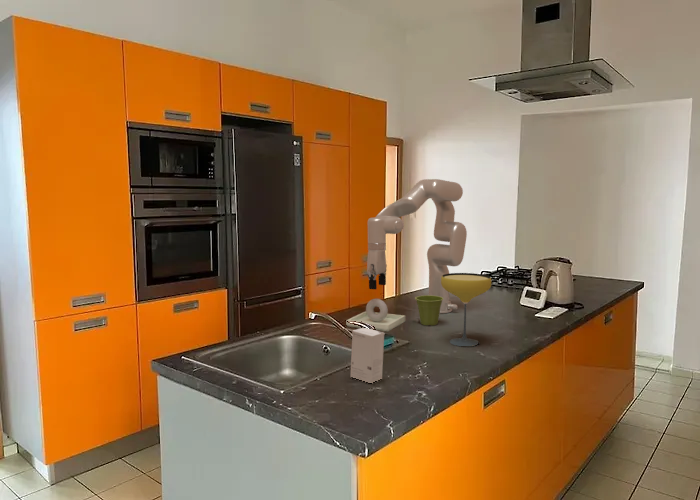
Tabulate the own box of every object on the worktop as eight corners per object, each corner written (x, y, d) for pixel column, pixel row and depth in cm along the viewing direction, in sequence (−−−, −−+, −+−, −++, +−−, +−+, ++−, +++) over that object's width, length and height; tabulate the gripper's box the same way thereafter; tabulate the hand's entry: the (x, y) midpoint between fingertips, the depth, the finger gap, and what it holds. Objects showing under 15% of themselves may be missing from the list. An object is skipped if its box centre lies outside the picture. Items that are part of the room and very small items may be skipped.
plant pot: (419, 319, 232) (420, 294, 231) (446, 322, 227) (446, 296, 225) (410, 325, 221) (411, 299, 220) (438, 328, 216) (438, 301, 215)
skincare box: (350, 378, 158) (350, 330, 157) (362, 373, 163) (362, 326, 161) (372, 385, 153) (372, 335, 151) (384, 379, 158) (384, 331, 156)
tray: (405, 321, 228) (405, 315, 228) (388, 331, 211) (388, 325, 211) (365, 316, 237) (365, 311, 237) (346, 326, 220) (346, 320, 220)
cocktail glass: (481, 352, 184) (483, 282, 181) (432, 345, 192) (434, 278, 190) (494, 340, 199) (496, 275, 196) (448, 333, 208) (450, 271, 205)
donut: (389, 322, 223) (389, 299, 222) (385, 323, 220) (385, 300, 219) (368, 319, 228) (368, 296, 227) (364, 321, 225) (364, 298, 224)
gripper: (377, 244, 230) (377, 282, 232) (359, 249, 215) (360, 290, 217) (393, 244, 226) (393, 283, 229) (376, 249, 211) (377, 291, 213)
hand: (377, 286), depth 223 cm, fingers open, 9 cm apart
